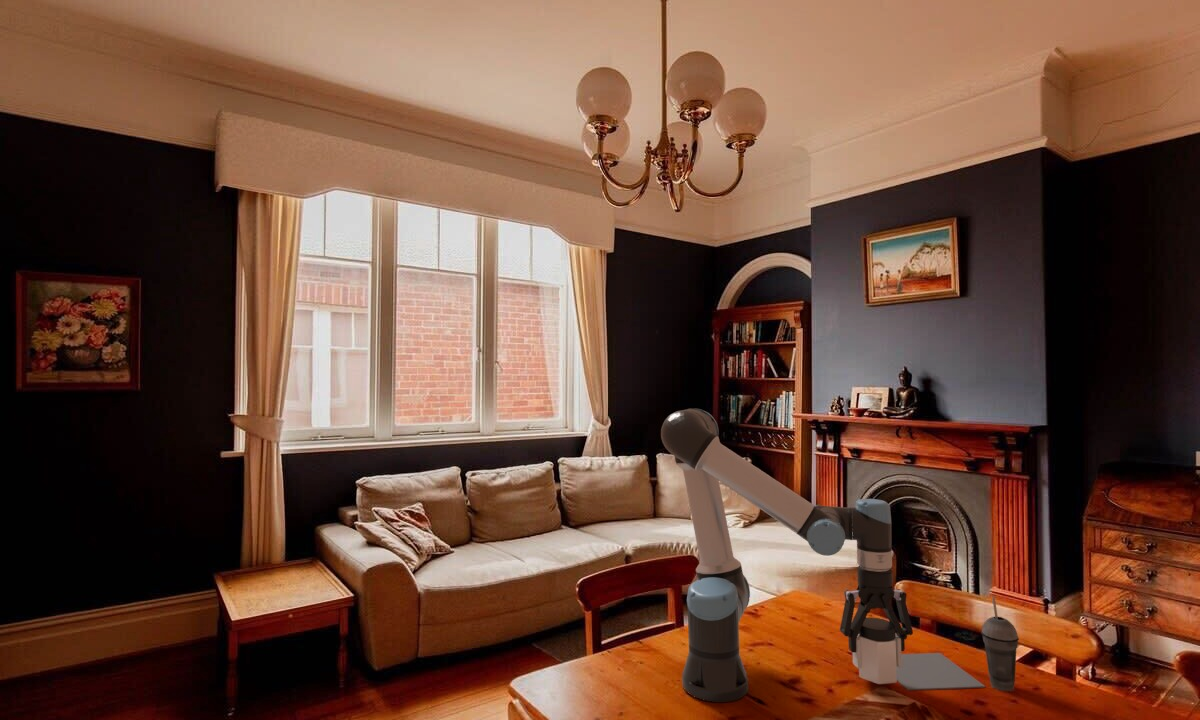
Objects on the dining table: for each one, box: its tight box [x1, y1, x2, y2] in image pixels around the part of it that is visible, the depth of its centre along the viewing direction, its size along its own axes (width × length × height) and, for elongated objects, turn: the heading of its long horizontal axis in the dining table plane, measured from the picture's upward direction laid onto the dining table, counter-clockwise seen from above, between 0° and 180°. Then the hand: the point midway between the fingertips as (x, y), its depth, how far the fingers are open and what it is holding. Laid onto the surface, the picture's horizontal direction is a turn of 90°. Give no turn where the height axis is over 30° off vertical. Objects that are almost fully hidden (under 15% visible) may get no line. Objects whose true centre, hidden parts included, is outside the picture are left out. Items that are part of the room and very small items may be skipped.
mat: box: [896, 652, 986, 691], centre depth 151 cm, size 18×18×1 cm
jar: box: [857, 617, 898, 685], centre depth 145 cm, size 9×8×12 cm
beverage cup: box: [981, 595, 1019, 692], centre depth 143 cm, size 7×7×20 cm
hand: (877, 665), depth 145 cm, fingers closed on jar, 9 cm apart
